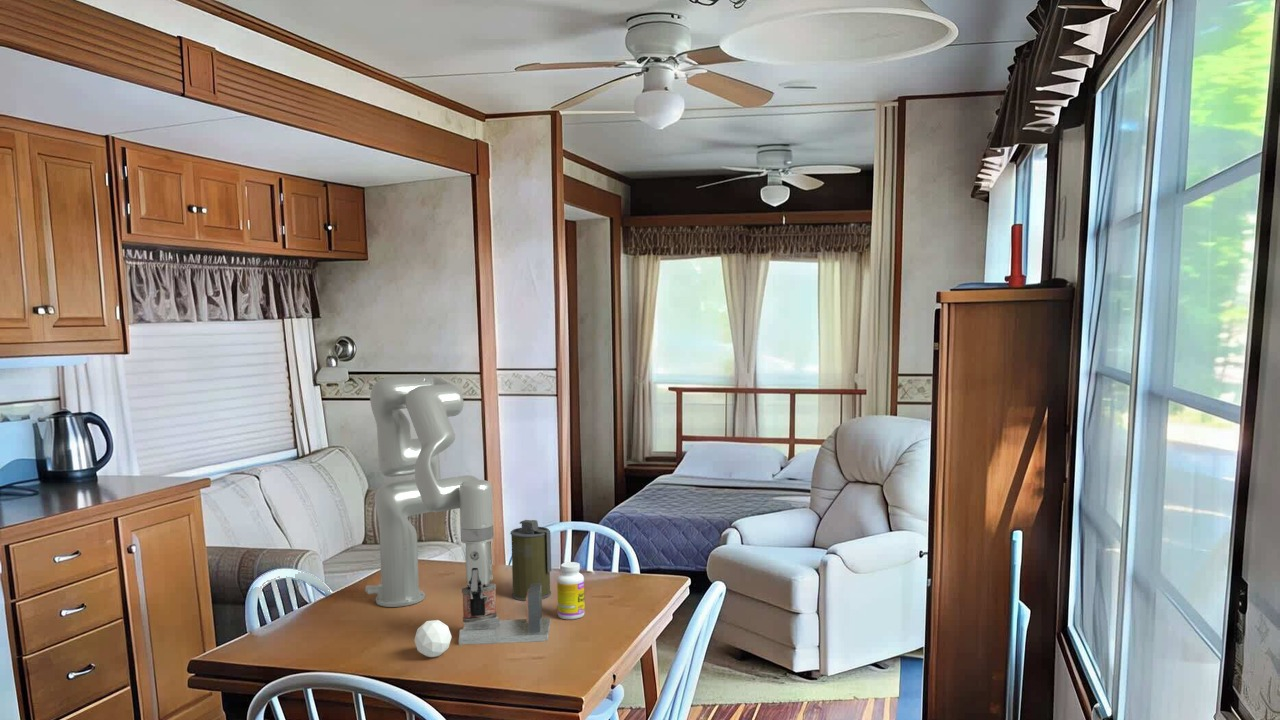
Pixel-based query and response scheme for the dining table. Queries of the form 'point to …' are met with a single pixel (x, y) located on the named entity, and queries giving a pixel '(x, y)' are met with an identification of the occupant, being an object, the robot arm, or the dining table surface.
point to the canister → (530, 559)
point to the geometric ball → (432, 638)
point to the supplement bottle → (570, 592)
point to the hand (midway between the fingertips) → (479, 611)
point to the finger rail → (511, 625)
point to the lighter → (489, 603)
